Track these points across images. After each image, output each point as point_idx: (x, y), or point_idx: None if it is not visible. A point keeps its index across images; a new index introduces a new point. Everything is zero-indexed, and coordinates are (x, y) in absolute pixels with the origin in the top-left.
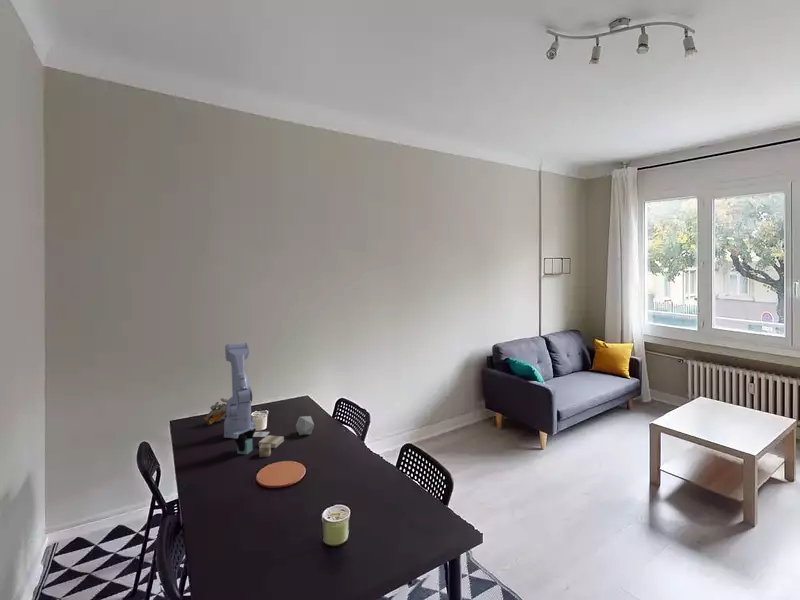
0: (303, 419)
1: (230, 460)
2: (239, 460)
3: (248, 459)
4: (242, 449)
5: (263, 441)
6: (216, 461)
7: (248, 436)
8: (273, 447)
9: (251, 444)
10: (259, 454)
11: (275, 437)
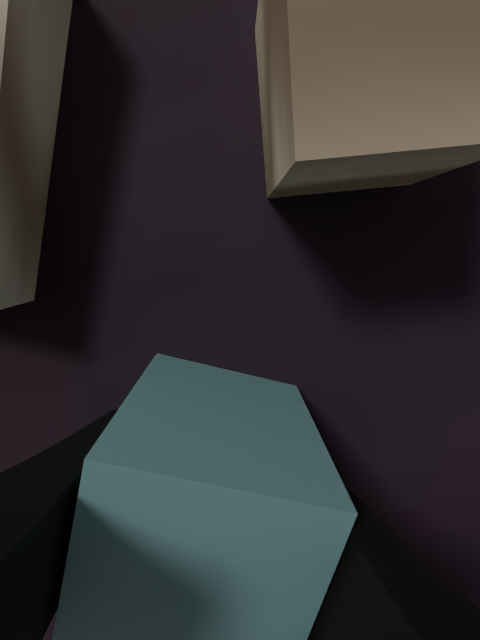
0: None
1: (442, 513)
2: (464, 420)
3: (459, 321)
4: None
5: None
6: None
7: (25, 609)
8: (64, 16)
9: (163, 402)
10: (435, 175)
11: None
